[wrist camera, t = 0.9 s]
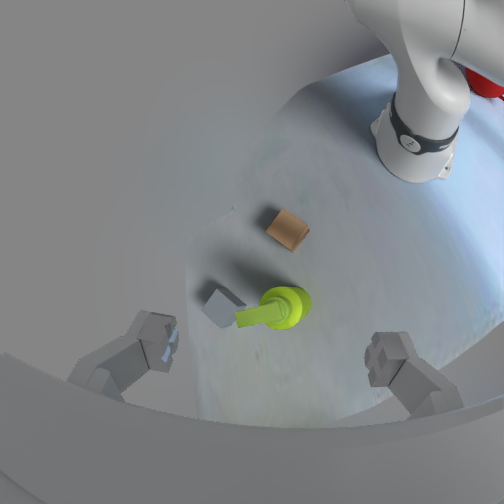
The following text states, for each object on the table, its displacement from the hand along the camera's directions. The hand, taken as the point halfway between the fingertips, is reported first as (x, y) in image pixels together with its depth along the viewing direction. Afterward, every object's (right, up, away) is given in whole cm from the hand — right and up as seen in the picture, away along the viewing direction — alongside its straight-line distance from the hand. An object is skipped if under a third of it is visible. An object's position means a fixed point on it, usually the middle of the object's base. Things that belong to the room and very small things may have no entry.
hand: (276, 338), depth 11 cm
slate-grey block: (-5, -7, +42) cm, 43 cm away
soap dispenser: (+6, -6, +39) cm, 40 cm away
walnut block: (+6, +7, +40) cm, 41 cm away
